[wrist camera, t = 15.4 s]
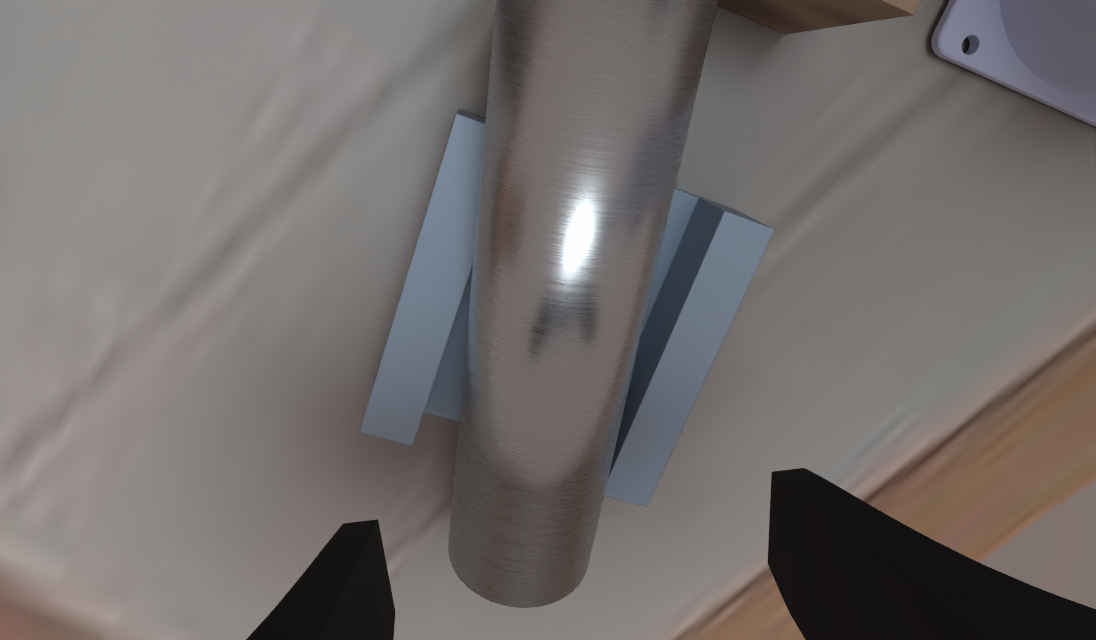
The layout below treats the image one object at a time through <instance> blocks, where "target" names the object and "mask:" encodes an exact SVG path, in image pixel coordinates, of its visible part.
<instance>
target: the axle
mask: <svg viewBox="0 0 1096 640" xmlns="http://www.w3.org/2000/svg"><path fill="white" fill-rule="evenodd" d="M717 2H718V0H496V5H495V16H494V28H493V39H492V51H491V62H490V74H489V85H488V97H487V108H486V119H485V131H484V142H483V154H482V165H481V177H480V188H479V200H478V211H477V222H476V234H475V245H474V257H473V268H472V280H471V291H470V303H469V314H468V325H467V337H466V348H465V360H464V371H463V383H462V394H461V406H460V417H459V428H458V440H457V451H456V463H455V474H454V486H453V497H452V508H451V520H450V531H449V543H448V552H449V558H450V561H451V564H452V567H453V569H454V571H455V573H456V574H457V575H458V577H459V578H460V580H461V581H462V582H463V583H464V584H465V585H466V586H467V587H468V588H470V589H471V590H472V591H473V592H475V593H476V594H478V595H480V596H481V597H483V598H485V599H487V600H489V601H492V602H495V603H498V604H501V605H505V606H510V607H520V608H528V607H538V606H543V605H547V604H551V603H553V602H556V601H558V600H560V599H562V598H564V597H565V596H567V595H568V594H570V593H571V592H572V591H573V590H574V589H575V588H576V587H577V586H578V585H579V584H580V582H581V581H582V580H583V578H584V576H585V574H586V571H587V568H588V564H589V559H590V555H591V551H592V546H593V542H594V538H595V533H596V529H597V525H598V520H599V516H600V512H601V507H602V503H603V498H604V494H605V490H606V485H607V481H608V477H609V472H610V468H611V464H612V459H613V455H614V451H615V446H616V442H617V437H618V433H619V429H620V424H621V420H622V416H623V411H624V407H625V403H626V398H627V394H628V390H629V385H630V381H631V376H632V372H633V368H634V363H635V359H636V355H637V350H638V346H639V342H640V337H641V333H642V329H643V324H644V320H645V315H646V311H647V307H648V302H649V298H650V294H651V289H652V285H653V281H654V276H655V272H656V268H657V263H658V259H659V254H660V250H661V246H662V241H663V237H664V233H665V228H666V224H667V220H668V215H669V211H670V207H671V202H672V198H673V193H674V189H675V185H676V180H677V176H678V172H679V167H680V163H681V159H682V154H683V150H684V146H685V141H686V137H687V132H688V128H689V124H690V119H691V115H692V111H693V106H694V102H695V98H696V93H697V89H698V85H699V80H700V76H701V72H702V67H703V63H704V58H705V54H706V50H707V45H708V41H709V37H710V32H711V28H712V24H713V19H714V15H715V11H716V6H717Z"/></svg>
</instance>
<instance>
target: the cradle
mask: <svg viewBox="0 0 1096 640" xmlns="http://www.w3.org/2000/svg"><path fill="white" fill-rule="evenodd" d="M484 131H485V118H482V117H479V116H476V115H474V114H471V113H468V112H465V111H463V110H460V109H459V110H458V112H457V114H456V117H455V121H454V124H453V127H452V130H451V134H450V137H449V140H448V143H447V147H446V150H445V153H444V157H443V160H442V163H441V166H440V170H439V173H438V176H437V180H436V183H435V186H434V189H433V193H432V196H431V199H430V203H429V206H428V209H427V212H426V216H425V219H424V222H423V225H422V229H421V232H420V235H419V239H418V242H417V245H416V248H415V252H414V255H413V258H412V262H411V265H410V268H409V271H408V275H407V278H406V281H405V284H404V288H403V291H402V294H401V298H400V301H399V304H398V307H397V311H396V314H395V317H394V321H393V324H392V327H391V330H390V334H389V337H388V340H387V344H386V347H385V350H384V353H383V357H382V360H381V363H380V366H379V370H378V373H377V376H376V380H375V383H374V386H373V389H372V393H371V396H370V399H369V403H368V406H367V409H366V412H365V416H364V419H363V422H362V425H361V429H360V432H359V433H363V434H366V435H370V436H374V437H378V438H382V439H386V440H390V441H394V442H398V443H401V444H405V445H409V446H412V445H413V442H414V439H415V436H416V433H417V430H418V427H419V424H420V421H421V418H422V415H423V412H425V413H429V414H432V415H436V416H440V417H443V418H447V419H451V420H455V421H458V422H459V417H460V406H461V394H462V383H463V371H464V360H465V348H466V337H467V325H468V314H469V303H470V291H471V280H472V268H473V257H474V245H475V234H476V222H477V211H478V200H479V188H480V177H481V165H482V154H483V142H484ZM773 231H774V229H773V228H771V227H769V226H767V225H765V224H763V223H761V222H759V221H757V220H755V219H753V218H751V217H749V216H747V215H745V214H743V213H741V212H739V211H737V210H734V209H731V208H728V207H726V206H723V205H720V204H717V203H715V202H712V201H709V200H706V199H704V198H701V197H698V196H696V195H693V194H690V193H687V192H685V191H682V190H679V189H676V188H675V189H674V193H673V198H672V202H671V207H670V211H669V215H668V220H667V224H666V228H665V233H664V237H663V241H662V246H661V250H660V254H659V259H658V263H657V268H656V272H655V276H654V281H653V285H652V289H651V294H650V298H649V302H648V307H647V311H646V315H645V320H644V324H643V329H642V333H641V337H640V342H639V346H638V350H637V355H636V359H635V363H634V368H633V372H632V376H631V381H630V385H629V390H628V394H627V398H626V403H625V407H624V411H623V416H622V420H621V424H620V429H619V433H618V437H617V442H616V446H615V451H614V455H613V459H612V464H611V468H610V472H609V477H608V481H607V485H606V490H605V494H604V496H607V497H611V498H615V499H619V500H623V501H626V502H630V503H634V504H638V505H642V506H646V507H647V505H648V503H649V501H650V499H651V496H652V494H653V492H654V490H655V488H656V486H657V483H658V481H659V479H660V477H661V475H662V472H663V470H664V468H665V466H666V464H667V462H668V459H669V457H670V455H671V453H672V451H673V449H674V446H675V444H676V442H677V440H678V438H679V436H680V433H681V431H682V429H683V427H684V425H685V423H686V420H687V418H688V416H689V414H690V412H691V409H692V407H693V405H694V403H695V401H696V399H697V396H698V394H699V392H700V390H701V388H702V386H703V383H704V381H705V379H706V377H707V375H708V373H709V370H710V368H711V366H712V364H713V362H714V360H715V357H716V355H717V353H718V351H719V349H720V346H721V344H722V342H723V340H724V338H725V336H726V333H727V331H728V329H729V327H730V325H731V323H732V320H733V318H734V316H735V314H736V312H737V310H738V307H739V305H740V303H741V301H742V299H743V297H744V294H745V292H746V290H747V288H748V286H749V283H750V281H751V279H752V277H753V275H754V273H755V270H756V268H757V266H758V264H759V262H760V260H761V257H762V255H763V253H764V251H765V249H766V247H767V244H768V242H769V240H770V238H771V236H772V234H773Z"/></svg>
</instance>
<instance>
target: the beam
mask: <svg viewBox="0 0 1096 640" xmlns="http://www.w3.org/2000/svg"><path fill="white" fill-rule="evenodd" d="M920 1H921V0H718V2H717V5H719V6H721V7H723V8H726V9H728V10H730V11H733V12H735V13H737V14H739V15H742V16H744V17H746V18H749V19H751V20H753V21H756V22H758V23H760V24H763V25H765V26H767V27H770V28H772V29H774V30H777V31H779V32H781V33H784V34H790V33H797V32H803V31H810V30H817V29H823V28H830V27H837V26H843V25H850V24H856V23H863V22H870V21H876V20H883V19H890V18H896V17H903V16H910V15H914V13H915V11H916V9H917V7H918V5H919V3H920Z"/></svg>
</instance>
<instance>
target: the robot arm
mask: <svg viewBox="0 0 1096 640" xmlns="http://www.w3.org/2000/svg"><path fill="white" fill-rule="evenodd" d="M966 37H967V38H968V39H969V41H970V46H969V49H968V51H967V52H966V53H965V54H964V53H963V52H962V47H961V46H962V43H963V41H964V39H965V38H966ZM931 42H932V49H933V51H934V53H935V54H936V55H938V56H939V57H941V58H943V59H945V60H948V61H950V62H952V63H954V64H957V65H959V66H961V67H963V68H966V69H968V70H970V71H972V72H975V73H977V74H979V75H981V76H983V77H986V78H988V79H990V80H992V81H995V82H997V83H999V84H1001V85H1004V86H1006V87H1008V88H1010V89H1013V90H1015V91H1017V92H1019V93H1021V94H1024V95H1026V96H1028V97H1030V98H1033V99H1035V100H1037V101H1039V102H1042V103H1044V104H1046V105H1048V106H1051V107H1053V108H1055V109H1057V110H1059V111H1062V112H1064V113H1066V114H1068V115H1071V116H1073V117H1075V118H1077V119H1080V120H1082V121H1084V122H1086V123H1089V124H1091V125H1093V126H1095V127H1096V0H949V2H948V4H947V6H946V8H945V10H944V12H943V14H942V17H941V19H940V21H939V23H938V25H937V27H936V29H935V31H934V33H933V36H932V40H931ZM768 565H769V567H770V569H771V572H772V574H773V576H774V579H775V581H776V583H777V586H778V588H779V590H780V593H781V595H782V597H783V599H784V601H785V604H786V606H787V608H788V610H789V612H790V614H791V616H792V618H793V619H794V621H795V623H796V624H797V626H798V628H799V629H800V631H801V633H802V634H803V636H804V638H805V639H806V640H1096V609H1093V608H1090V607H1088V606H1085V605H1082V604H1079V603H1076V602H1074V601H1071V600H1068V599H1065V598H1062V597H1060V596H1057V595H1054V594H1052V593H1049V592H1047V591H1044V590H1042V589H1039V588H1036V587H1034V586H1031V585H1029V584H1027V583H1024V582H1022V581H1020V580H1017V579H1015V578H1013V577H1010V576H1008V575H1006V574H1003V573H1001V572H999V571H996V570H994V569H992V568H989V567H987V566H985V565H983V564H981V563H979V562H976V561H974V560H972V559H970V558H968V557H966V556H964V555H962V554H960V553H958V552H956V551H954V550H952V549H950V548H948V547H946V546H944V545H942V544H940V543H938V542H936V541H934V540H932V539H930V538H928V537H926V536H924V535H923V534H921V533H919V532H917V531H915V530H913V529H911V528H909V527H908V526H906V525H904V524H902V523H900V522H899V521H897V520H895V519H893V518H891V517H890V516H888V515H886V514H884V513H883V512H881V511H879V510H877V509H876V508H874V507H872V506H870V505H869V504H867V503H865V502H864V501H862V500H860V499H858V498H857V497H855V496H853V495H852V494H850V493H848V492H846V491H845V490H843V489H841V488H840V487H838V486H836V485H834V484H833V483H831V482H829V481H827V480H826V479H824V478H822V477H820V476H818V475H817V474H815V473H813V472H811V471H809V470H807V469H805V468H800V469H792V470H783V471H775V472H772V479H771V502H770V524H769V547H768ZM394 622H395V608H394V602H393V597H392V592H391V586H390V581H389V576H388V571H387V565H386V560H385V555H384V549H383V544H382V539H381V533H380V528H379V523H378V520H370V521H362V522H353V523H345V524H343V525H342V526H341V527H340V528H339V529H338V531H337V532H336V533H335V534H334V535H333V537H332V538H331V539H330V540H329V542H328V543H327V544H326V545H325V547H324V548H323V549H322V551H321V552H320V553H319V554H318V556H317V557H316V558H315V560H314V561H313V562H312V563H311V565H310V566H309V567H308V568H307V570H306V571H305V572H304V573H303V575H302V576H301V577H300V578H299V580H298V581H297V582H296V583H295V584H294V586H293V587H292V588H291V589H290V590H289V592H288V593H287V594H286V595H285V596H284V598H283V599H282V600H281V601H280V602H279V604H278V605H277V606H276V607H275V608H274V610H273V611H272V612H271V613H270V614H269V615H268V616H267V618H266V619H265V620H264V621H263V622H262V623H261V624H260V625H259V626H258V627H257V628H256V630H255V631H254V632H253V633H252V634H251V635H250V636H249V637H248V638H247V639H246V640H393V637H394Z"/></svg>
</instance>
